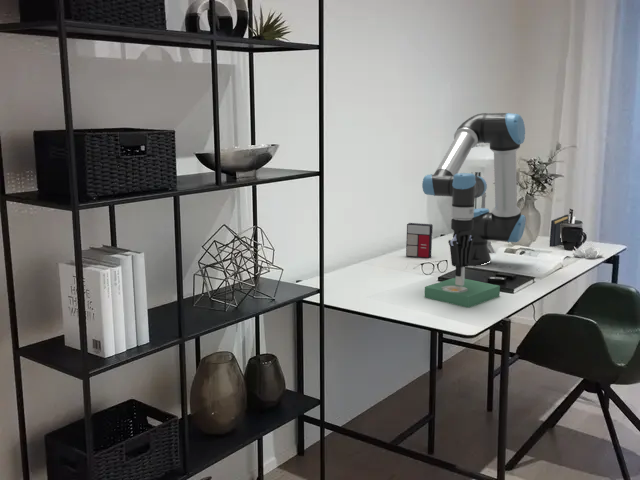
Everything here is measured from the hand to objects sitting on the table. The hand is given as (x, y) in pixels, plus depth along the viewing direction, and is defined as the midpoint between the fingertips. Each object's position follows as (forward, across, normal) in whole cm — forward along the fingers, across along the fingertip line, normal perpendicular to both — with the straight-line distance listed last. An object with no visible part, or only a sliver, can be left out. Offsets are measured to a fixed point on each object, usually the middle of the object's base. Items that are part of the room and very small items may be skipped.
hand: (459, 284), depth 233 cm
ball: (+3, -4, 0) cm, 5 cm away
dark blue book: (+6, +109, +16) cm, 111 cm away
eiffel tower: (+6, +72, +36) cm, 81 cm away
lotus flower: (+6, +88, -7) cm, 89 cm away
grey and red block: (+5, +44, +51) cm, 68 cm away
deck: (+5, +2, 0) cm, 5 cm away
